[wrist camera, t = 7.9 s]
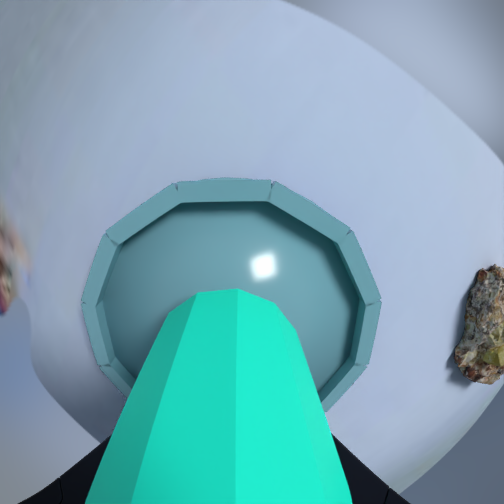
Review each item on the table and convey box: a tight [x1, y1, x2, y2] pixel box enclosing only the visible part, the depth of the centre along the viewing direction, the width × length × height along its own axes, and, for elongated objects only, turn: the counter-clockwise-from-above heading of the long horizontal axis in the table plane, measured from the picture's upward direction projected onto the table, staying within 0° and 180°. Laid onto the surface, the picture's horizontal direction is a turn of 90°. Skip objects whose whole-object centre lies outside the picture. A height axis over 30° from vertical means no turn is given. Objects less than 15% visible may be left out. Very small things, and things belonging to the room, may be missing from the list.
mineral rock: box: [454, 264, 504, 384], centre depth 14 cm, size 11×4×8 cm
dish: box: [81, 178, 382, 412], centre depth 13 cm, size 14×14×2 cm
